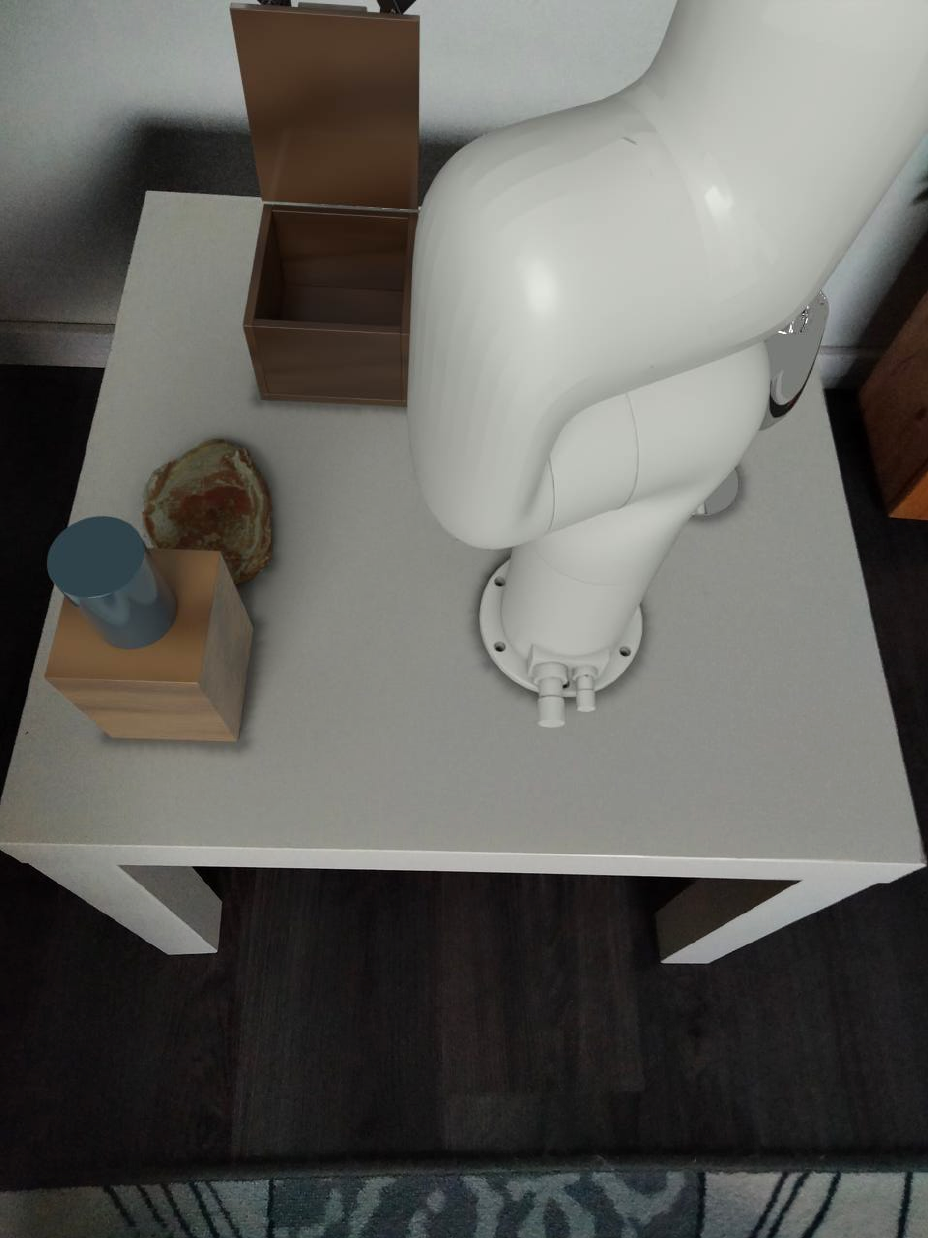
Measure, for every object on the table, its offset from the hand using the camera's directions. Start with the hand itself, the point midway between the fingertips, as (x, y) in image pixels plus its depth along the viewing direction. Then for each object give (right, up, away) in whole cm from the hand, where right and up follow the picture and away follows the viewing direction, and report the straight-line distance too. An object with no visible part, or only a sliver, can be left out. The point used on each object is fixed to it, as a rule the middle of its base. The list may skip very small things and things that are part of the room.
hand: (338, 62), depth 65 cm
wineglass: (+30, -32, +7) cm, 44 cm away
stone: (-10, -35, +3) cm, 37 cm away
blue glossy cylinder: (-10, -43, -14) cm, 47 cm away
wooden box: (-1, -18, +11) cm, 21 cm away
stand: (-11, -48, -4) cm, 49 cm away
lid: (0, -5, -1) cm, 5 cm away
